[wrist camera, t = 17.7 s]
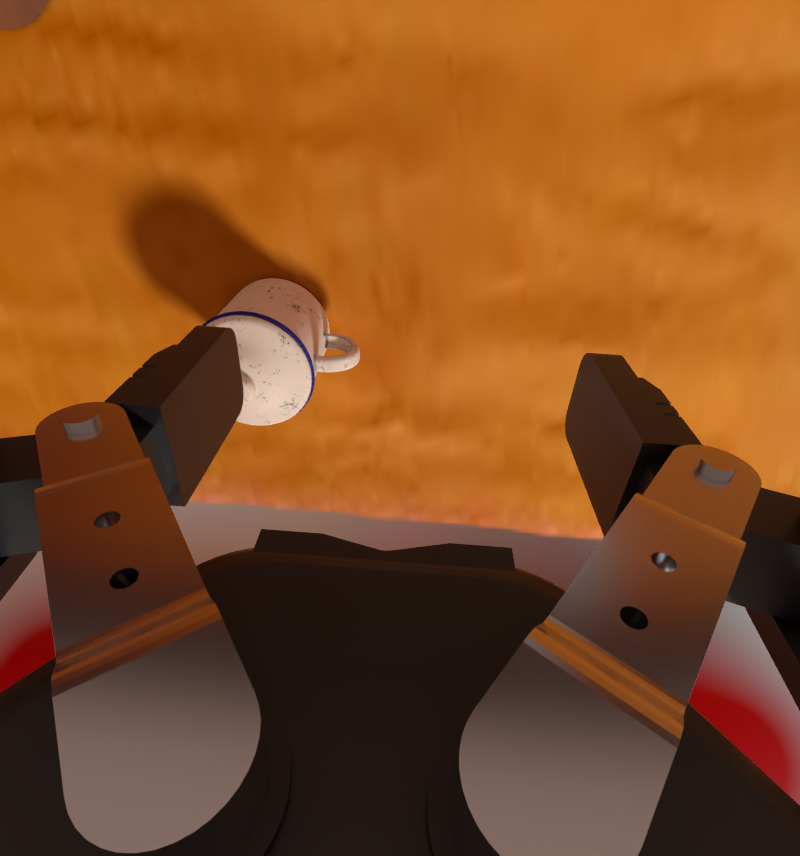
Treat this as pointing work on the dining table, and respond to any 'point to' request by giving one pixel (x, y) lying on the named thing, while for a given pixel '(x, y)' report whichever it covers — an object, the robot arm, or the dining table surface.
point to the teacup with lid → (281, 347)
